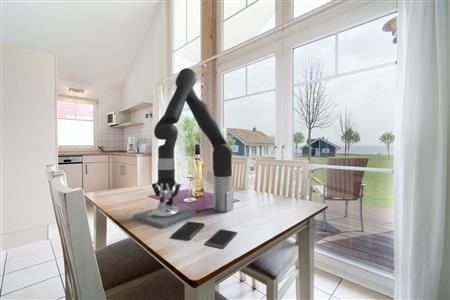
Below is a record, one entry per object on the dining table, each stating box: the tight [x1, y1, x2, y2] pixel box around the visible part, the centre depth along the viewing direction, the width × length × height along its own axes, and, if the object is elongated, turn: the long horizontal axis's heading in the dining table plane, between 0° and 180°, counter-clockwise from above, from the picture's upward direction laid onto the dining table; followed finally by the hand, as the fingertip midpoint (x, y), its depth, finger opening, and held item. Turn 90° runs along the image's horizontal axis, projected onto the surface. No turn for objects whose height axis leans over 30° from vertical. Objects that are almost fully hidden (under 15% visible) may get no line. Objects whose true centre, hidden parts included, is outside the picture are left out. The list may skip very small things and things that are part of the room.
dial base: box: [132, 205, 198, 229], centre depth 100 cm, size 20×20×2 cm
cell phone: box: [203, 228, 238, 250], centre depth 78 cm, size 7×14×1 cm, turn 157°
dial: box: [148, 199, 179, 218], centre depth 98 cm, size 16×12×6 cm
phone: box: [170, 221, 206, 242], centre depth 84 cm, size 8×1×15 cm
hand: (166, 205), depth 100 cm, fingers closed on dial, 3 cm apart
